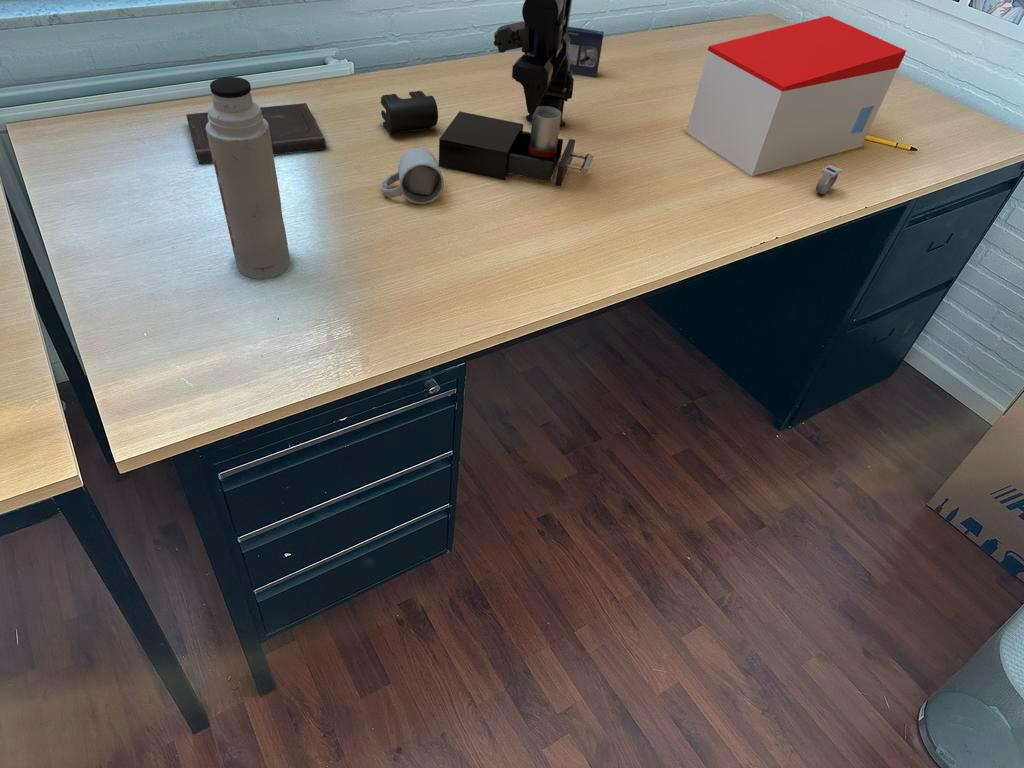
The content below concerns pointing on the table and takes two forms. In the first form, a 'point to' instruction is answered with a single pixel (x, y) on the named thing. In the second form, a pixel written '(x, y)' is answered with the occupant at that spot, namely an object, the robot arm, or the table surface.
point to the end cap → (409, 112)
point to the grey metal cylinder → (544, 133)
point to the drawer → (543, 161)
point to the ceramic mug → (416, 177)
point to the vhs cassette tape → (583, 51)
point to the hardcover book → (286, 126)
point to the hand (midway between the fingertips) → (536, 103)
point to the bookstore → (792, 93)
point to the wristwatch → (827, 172)
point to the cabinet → (478, 145)
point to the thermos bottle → (247, 179)
